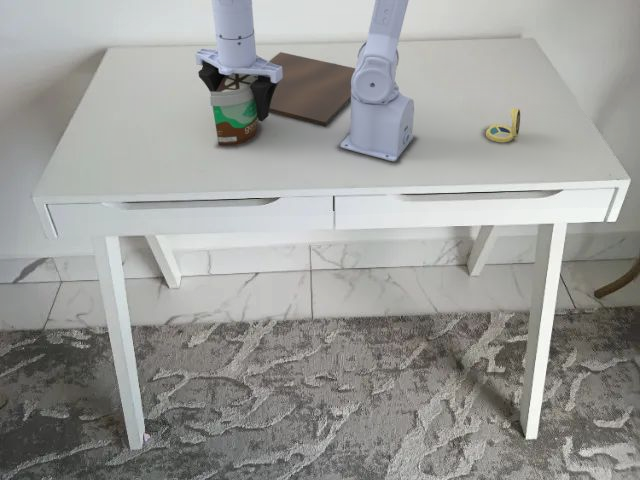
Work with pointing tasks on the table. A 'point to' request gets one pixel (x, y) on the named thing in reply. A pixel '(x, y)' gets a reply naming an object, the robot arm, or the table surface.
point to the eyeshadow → (505, 129)
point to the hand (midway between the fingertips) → (243, 112)
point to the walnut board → (310, 89)
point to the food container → (235, 109)
